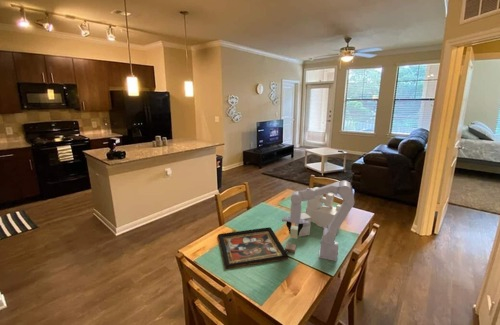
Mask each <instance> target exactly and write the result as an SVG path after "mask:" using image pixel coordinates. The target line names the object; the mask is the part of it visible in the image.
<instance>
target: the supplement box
mask: <svg viewBox="0 0 500 325" xmlns="http://www.w3.org/2000/svg"><path fill="white" fill-rule="evenodd" d="M301 219H303V220H306V221H309V222H308V226H306V225H304V224H303V227H302V229H301V230H300V233H299V236H298V237H300V238H302V237H305V236H309V235H310V234H311V233H310V232H311V223H312V222H311V217H310V216H309V215H307V214H306V212H301ZM298 225H299V224H294V226H298Z"/></svg>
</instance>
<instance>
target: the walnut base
mask: <svg viewBox="0 0 500 325" xmlns="http://www.w3.org/2000/svg"><path fill="white" fill-rule="evenodd" d="M284 250H285V251H286V253H289V254H296V250H297V244H295V243H294V244H293V243H289V242H286V244H285V247H284Z"/></svg>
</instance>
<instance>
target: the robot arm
mask: <svg viewBox="0 0 500 325" xmlns="http://www.w3.org/2000/svg"><path fill="white" fill-rule="evenodd" d="M352 186H353V185H352V184H351V183H350V182H349V181H348V180H346V179H345V180H344V179H343V180H339V181H335V182H333V183H329V184H327V185H323V186H319V188H317V189H313V188H314V187H313V188H312V187H310V188H309V187H306V188H305V189H302V190H297V191H293V192H292V194H291V197H290V202H291V204H290V212H289V213H290V215H289V216H282V218H281V222H285V224H286V227H287V230H288V233H289V235H290V230H291V226H293V225H292V224H294V225H295V224H299V225H298V237H300V236H299V233H300V230H301V229H302V227H303V224H304V225H306V226H308V222H309V221H306V220H303V219H301V213H302V202H308V200H310V199H314V198H315V197H316V196H317V195H321V194H323V195H326V193H331V194H334V195H336V196H337V195H339V196H340V198H341V199H342V200H343V201H342V203H341V204H340V205H341V206H340V208H339V210H338V211H337V213H336V214H335V216H334V218H333V219H332V221H331V223H329V224H328V225H327V226H326V227H324V228H323V229H322V237H320V238H321V240H320V247H319V252H318V258H319V259H323V260H324V259H325V260H329V261H334V262H337V261H338V256H339V241H336V240H335V238H336V236H337V234H338V231H339V229H340V227H341V226H342V224H343V223H344V221H345V220H346V218H347V216H348V215H349V213H350V211H351V210H352V208H353V206H354V205H355V196H354V191H353V189H354V188H353V187H352Z"/></svg>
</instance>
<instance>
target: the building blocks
mask: <svg viewBox="0 0 500 325" xmlns="http://www.w3.org/2000/svg"><path fill="white" fill-rule="evenodd" d="M317 188H320V186H314V187H313V189H317ZM334 197H335V194H334V193H332V192H331V193H326V194H325V196H324V194H321V195H317V196H316V197H315V198H314V199H310V200H307V201H306V203H307V204H306V206H305V213H306V214H307V215H309V216H310V217H311V223H313V224H316V226H317V227H320V228H323V229H324V227H326V226H327V225H328V224H329V223H331V221H332V219H333V218H334V216H335V214H336V213H337V211H338V210H339V208H340V206H341V205H342V204H337V205H336V206H334V199H335V198H334ZM323 204H324V205H323Z"/></svg>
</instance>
